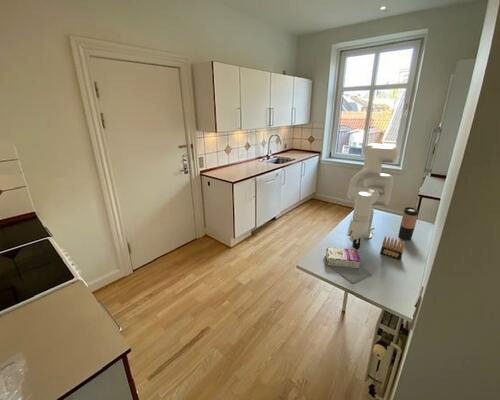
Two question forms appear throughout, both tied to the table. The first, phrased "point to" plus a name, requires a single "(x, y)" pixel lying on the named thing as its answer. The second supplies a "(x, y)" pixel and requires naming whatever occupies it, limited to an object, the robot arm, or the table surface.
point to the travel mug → (408, 223)
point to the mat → (352, 273)
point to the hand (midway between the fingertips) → (355, 248)
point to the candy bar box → (342, 257)
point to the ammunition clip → (392, 249)
